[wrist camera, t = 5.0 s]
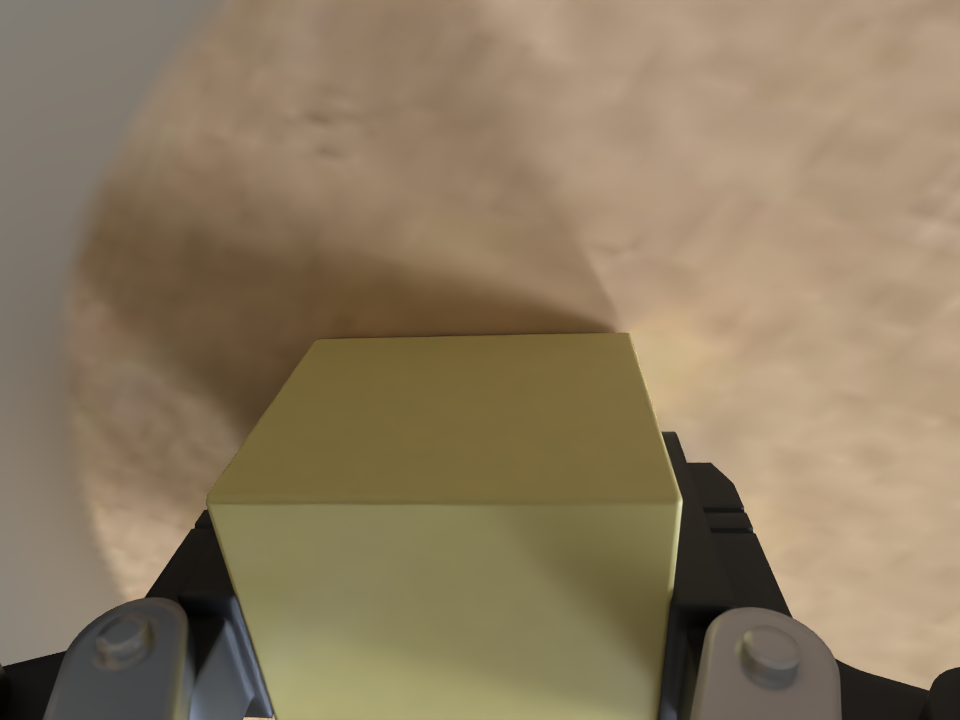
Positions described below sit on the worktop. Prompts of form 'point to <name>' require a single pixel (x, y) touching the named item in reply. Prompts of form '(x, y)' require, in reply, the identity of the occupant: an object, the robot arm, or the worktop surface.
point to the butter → (456, 531)
